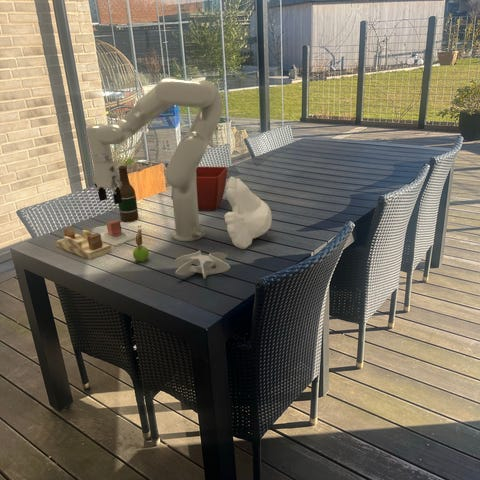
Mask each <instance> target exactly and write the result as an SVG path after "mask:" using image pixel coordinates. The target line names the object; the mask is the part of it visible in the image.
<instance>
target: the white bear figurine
mask: <svg viewBox="0 0 480 480" xmlns="http://www.w3.org/2000/svg"><path fill="white" fill-rule="evenodd" d="M225 196H226V199H227V201H228V203H229V204H230V206H231V210H232V211H227V212H226V213H225V214H224V221H225V223H226V224H227V225H226V230H227V233H228V236H229V238H231V242H232V245H234V246H235V247H237V248H239V249H241V250H245V249H247V248H248V247H250V246H251V245H252V242H253V239H256V238H258V237H261V236H263V235H264V234H265V233H266V232H268V230H269V229H270V228H271V226H272V221H273V217H272V210H271V208H270V207H269V205H268V203H266V202H265V201H263V199H261V198H260V197H258V196H257V195H255V194H254V193H253V192H252V191H251V189H250V188H249V187H248V186H247V185H246V184H245V183H244V182H243V181H242V180H241V179H240V178H238V177H237V178H236V177H235V176H230V177H228V180H227V181H226V184H225Z"/></svg>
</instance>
